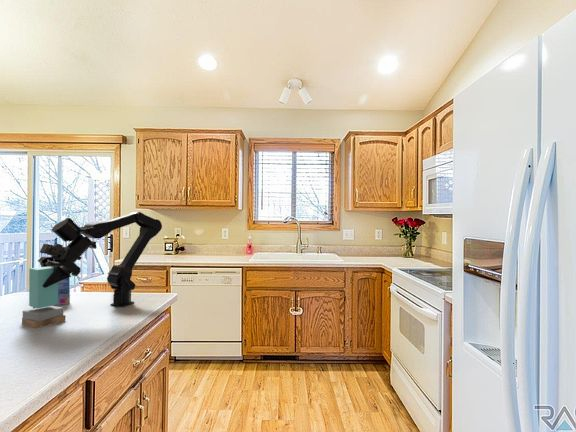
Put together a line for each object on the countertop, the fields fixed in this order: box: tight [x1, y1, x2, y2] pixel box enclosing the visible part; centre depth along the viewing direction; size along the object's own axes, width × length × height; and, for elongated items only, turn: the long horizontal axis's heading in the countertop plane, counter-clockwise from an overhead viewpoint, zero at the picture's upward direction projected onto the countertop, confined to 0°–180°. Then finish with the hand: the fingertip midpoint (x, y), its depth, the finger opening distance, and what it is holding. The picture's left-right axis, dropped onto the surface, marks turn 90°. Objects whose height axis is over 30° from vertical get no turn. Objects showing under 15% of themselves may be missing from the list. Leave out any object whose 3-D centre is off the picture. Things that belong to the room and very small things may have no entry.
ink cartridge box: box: [56, 277, 71, 306], centre depth 138 cm, size 10×6×14 cm, turn 54°
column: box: [28, 266, 58, 308], centre depth 113 cm, size 6×6×12 cm
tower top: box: [22, 305, 64, 321], centre depth 113 cm, size 8×8×2 cm
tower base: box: [21, 314, 66, 329], centre depth 113 cm, size 9×9×2 cm
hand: (39, 285), depth 112 cm, fingers closed on column, 6 cm apart
